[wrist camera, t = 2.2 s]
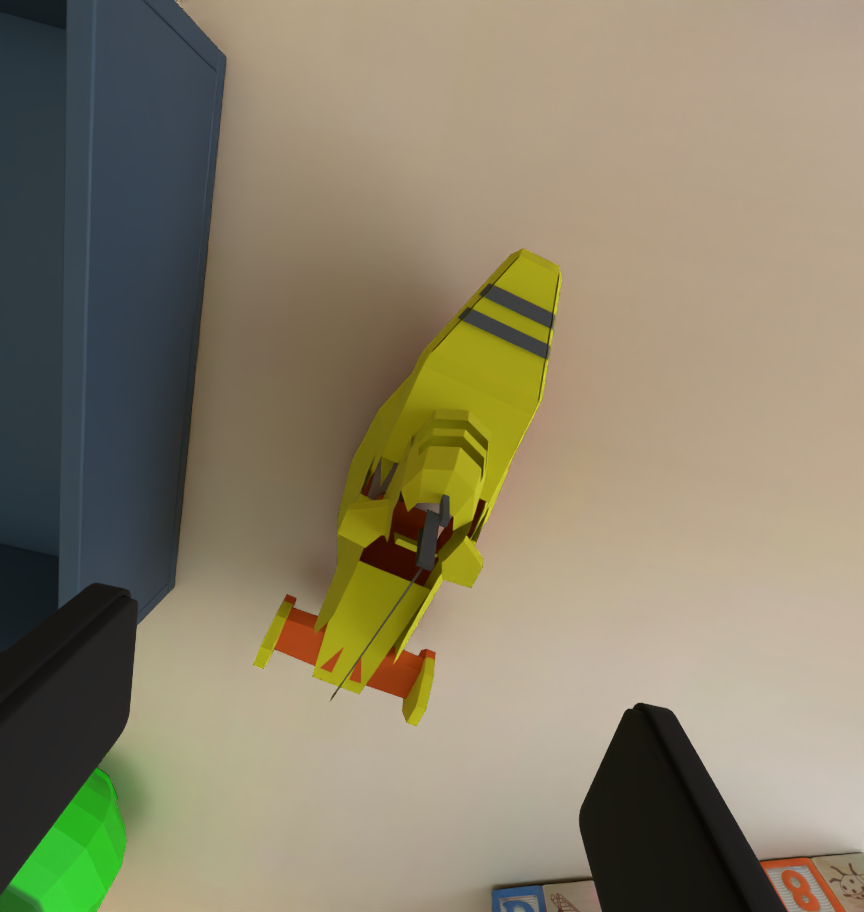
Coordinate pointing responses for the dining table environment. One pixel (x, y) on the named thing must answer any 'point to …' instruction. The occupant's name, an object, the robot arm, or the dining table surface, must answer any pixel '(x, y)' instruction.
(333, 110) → the dining table surface
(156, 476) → the tote
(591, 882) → the stack of blocks
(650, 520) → the dining table surface
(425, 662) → the yellow toy submarine
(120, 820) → the plastic bottle
